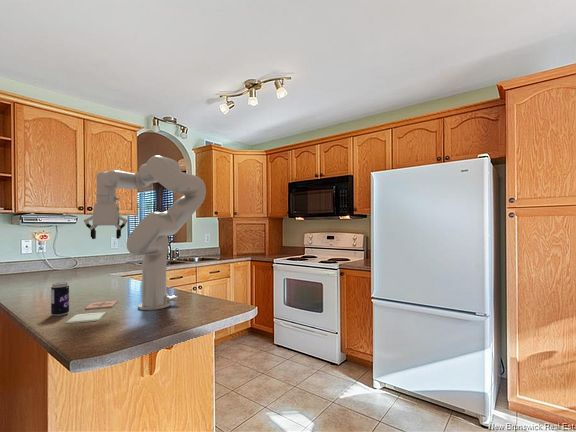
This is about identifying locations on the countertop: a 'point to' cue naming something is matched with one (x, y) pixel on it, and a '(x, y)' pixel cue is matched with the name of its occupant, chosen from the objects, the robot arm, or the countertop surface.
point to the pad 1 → (86, 317)
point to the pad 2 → (101, 305)
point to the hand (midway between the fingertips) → (106, 238)
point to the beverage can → (59, 299)
